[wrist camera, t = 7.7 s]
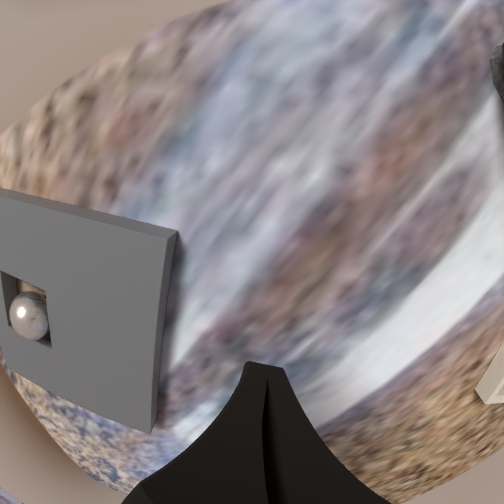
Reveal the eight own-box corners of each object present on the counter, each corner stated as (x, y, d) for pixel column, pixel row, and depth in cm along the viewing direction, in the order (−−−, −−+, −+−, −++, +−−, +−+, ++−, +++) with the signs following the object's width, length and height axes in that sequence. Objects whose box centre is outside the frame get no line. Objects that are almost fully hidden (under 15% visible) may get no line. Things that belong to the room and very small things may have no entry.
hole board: (156, 418, 24) (150, 434, 22) (16, 356, 24) (6, 366, 22) (177, 230, 19) (167, 239, 17) (-1, 187, 18) (-17, 191, 16)
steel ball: (21, 355, 17) (4, 322, 19) (59, 343, 21) (39, 313, 22) (19, 319, 16) (3, 285, 17) (62, 307, 20) (42, 277, 21)
